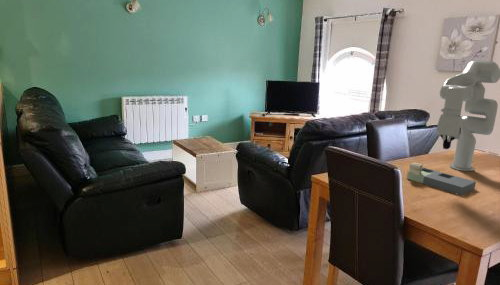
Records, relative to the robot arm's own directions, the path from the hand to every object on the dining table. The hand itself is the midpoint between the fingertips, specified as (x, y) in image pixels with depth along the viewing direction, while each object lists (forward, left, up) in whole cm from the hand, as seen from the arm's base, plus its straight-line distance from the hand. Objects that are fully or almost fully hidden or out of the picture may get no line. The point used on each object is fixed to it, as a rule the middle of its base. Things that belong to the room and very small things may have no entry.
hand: (446, 148), depth 181 cm
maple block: (+4, -12, -16) cm, 20 cm away
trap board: (-3, -2, -20) cm, 20 cm away
